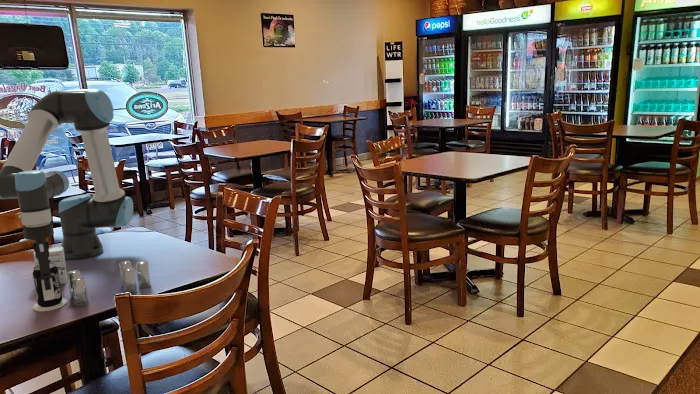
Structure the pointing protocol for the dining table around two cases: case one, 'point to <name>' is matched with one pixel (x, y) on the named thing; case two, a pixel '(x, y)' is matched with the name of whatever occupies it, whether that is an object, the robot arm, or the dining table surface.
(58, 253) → the ink box
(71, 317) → the dining table surface
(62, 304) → the coaster
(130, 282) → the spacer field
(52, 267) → the beverage can
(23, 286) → the dining table surface
